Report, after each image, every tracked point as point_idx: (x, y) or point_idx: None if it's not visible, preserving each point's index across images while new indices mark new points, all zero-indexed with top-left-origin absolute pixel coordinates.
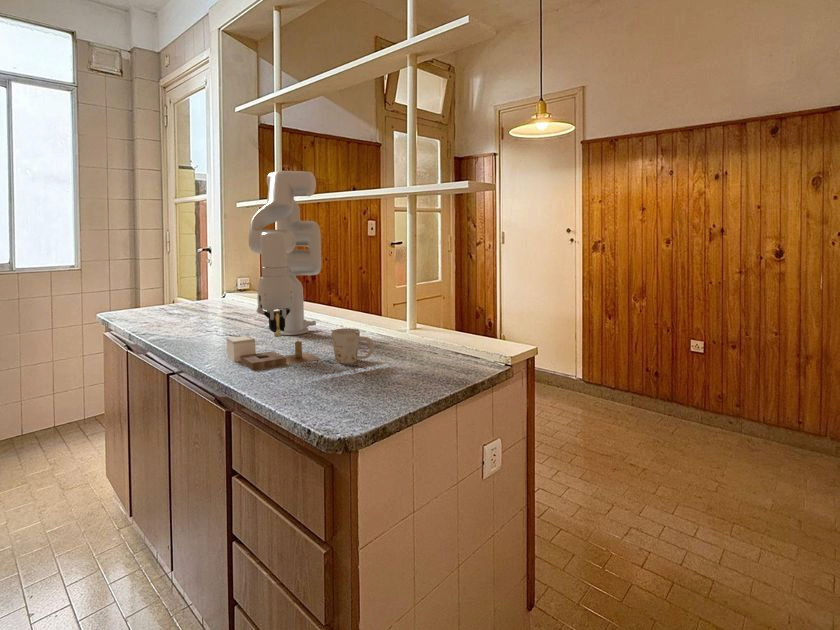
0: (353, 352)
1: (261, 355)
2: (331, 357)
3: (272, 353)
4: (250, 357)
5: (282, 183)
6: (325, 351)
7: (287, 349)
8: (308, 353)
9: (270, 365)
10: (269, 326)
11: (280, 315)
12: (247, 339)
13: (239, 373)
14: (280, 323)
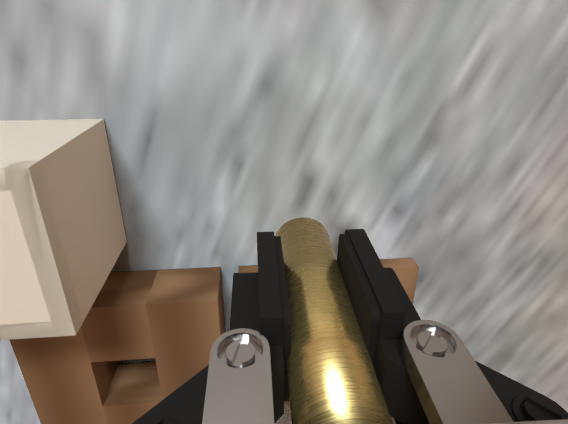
0: None
1: (126, 356)
2: (474, 337)
3: (195, 344)
4: (58, 368)
5: None
6: (538, 225)
7: (413, 40)
8: (413, 288)
9: None
10: (234, 292)
11: (395, 385)
12: (12, 319)
13: (15, 382)
14: None
